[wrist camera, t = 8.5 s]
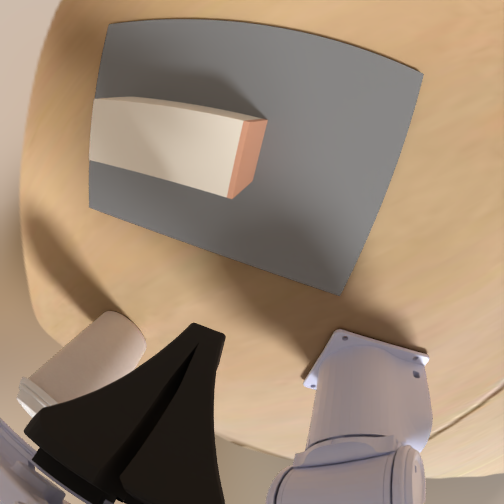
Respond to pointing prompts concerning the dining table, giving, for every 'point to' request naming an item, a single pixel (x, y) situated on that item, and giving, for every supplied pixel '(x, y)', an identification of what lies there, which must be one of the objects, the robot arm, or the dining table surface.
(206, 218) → the mat
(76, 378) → the coffee cup
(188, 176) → the block
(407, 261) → the dining table surface
